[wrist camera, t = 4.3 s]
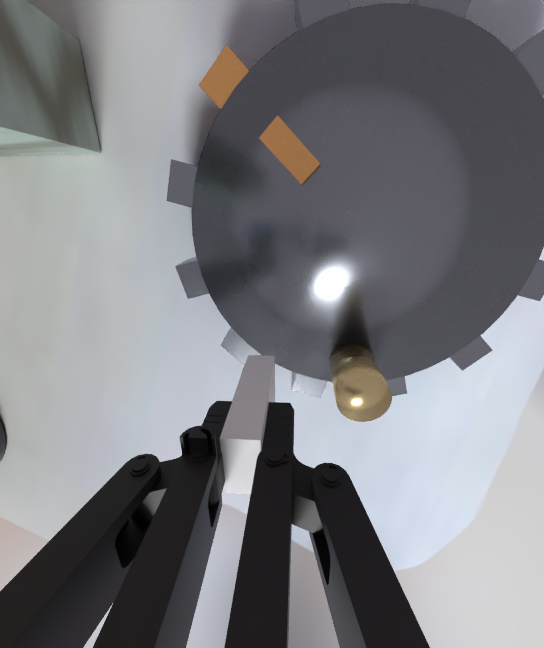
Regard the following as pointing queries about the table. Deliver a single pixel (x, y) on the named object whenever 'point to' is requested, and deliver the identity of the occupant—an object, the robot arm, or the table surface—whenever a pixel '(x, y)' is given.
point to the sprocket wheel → (369, 195)
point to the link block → (42, 86)
